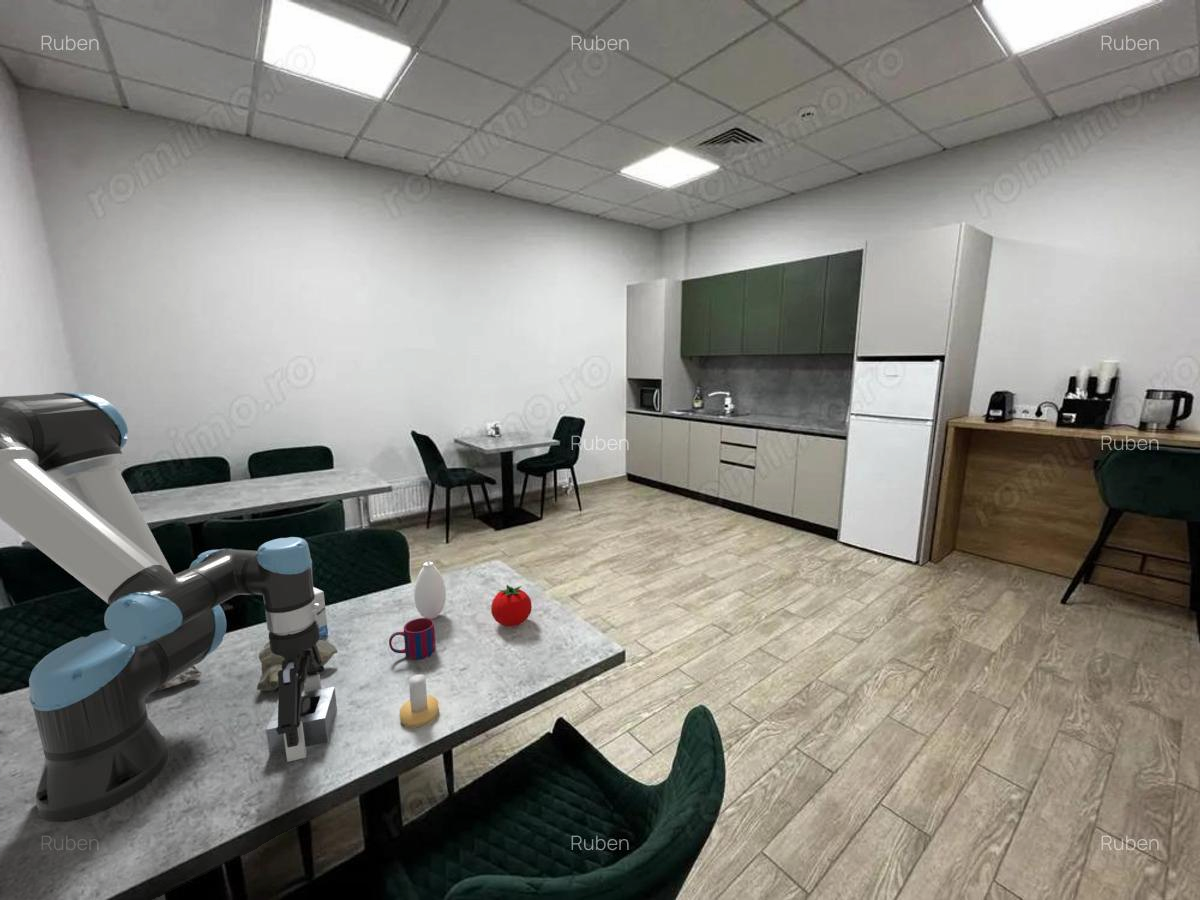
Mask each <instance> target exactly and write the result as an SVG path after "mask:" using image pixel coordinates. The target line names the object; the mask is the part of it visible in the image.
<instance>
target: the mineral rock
mask: <svg viewBox="0 0 1200 900" xmlns="http://www.w3.org/2000/svg"><path fill="white" fill-rule="evenodd" d="M202 674H203V673H202V671H201V670H199V669H197V668H196V665H193V666H191V667H190V668H188V669H187V670H185V671H184V672H182V673H181V674H179V675H178V676H176V677H174V678H173V679H171V680H170V681H168V682H167V683H165V684H164V685H163V686H161V687H160V688H158V689H156V690H155V691H153V692H152V693H154V692H160V691H162V690H164V689H168V688H171V687H175V686H179V685H180V684H184V683H187V682H190V681H195V680H197V679H199V677H201V676H202Z"/></svg>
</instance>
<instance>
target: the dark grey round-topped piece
mask: <svg viewBox="0 0 1200 900" xmlns="http://www.w3.org/2000/svg"><path fill="white" fill-rule="evenodd" d="M307 714H311V705H310V697H309V696H302V699H301V713H300V716H302V715H307Z"/></svg>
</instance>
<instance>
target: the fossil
mask: <svg viewBox="0 0 1200 900" xmlns="http://www.w3.org/2000/svg"><path fill="white" fill-rule="evenodd" d="M316 645H317V648H318V651H319V654H320V657H321V660H322V663H321V665H319V666H325V665H326V664H328V663H329V660H331V659H332V657H333V656H334V655H335V654H337V653H338V651H339V650H338V649H337V648H336V646H335V645H333V644H332V643H330V642H329V641H325V640H323V639H319V640H318V642H317V643H316ZM258 659H259V661H260V663H261V676H260V678H259V680H258V683H257V685H256V687H257V688H256V689H257V691H267V692H269V691H270V692H272V691H275V690H277V689H279V683H278V672H279V671H280V670H282V661H283V660H284V659H285V658H284V657H282V656H279V655H275V654H273V653H272V652H271V649H270V642H269V641H268V642H267V643H266V644H265V645H264V648H263V649H261V650H260V651H259V654H258ZM299 678H301V677H298V678H297V679H299Z"/></svg>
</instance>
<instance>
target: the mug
mask: <svg viewBox="0 0 1200 900" xmlns="http://www.w3.org/2000/svg"><path fill="white" fill-rule="evenodd" d="M397 636H403V639H404V642H403V643H404V649H397V648H394V647H393V645H392V644H393V643H392V642H393V639H394V638H395V637H397ZM388 646H389V648H390V650H391V651H392V652H393V653H397V654H405V656H406V658H408V659H410V660H414V661H415V660H417V661H418V660H423V659H427V658H429V657H430V656H432V655H434V653H435V652H436V648H437V647H436V631H435V621H434V620H433V619H429V618H425V617H418V618H415V619H412V620H410V621H408V622H406V623H405V624H404V626H403V631H397V632H394V633H392V634H391V635H390V636H389V641H388Z"/></svg>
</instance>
